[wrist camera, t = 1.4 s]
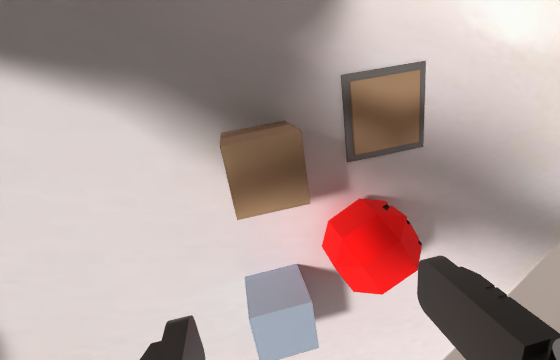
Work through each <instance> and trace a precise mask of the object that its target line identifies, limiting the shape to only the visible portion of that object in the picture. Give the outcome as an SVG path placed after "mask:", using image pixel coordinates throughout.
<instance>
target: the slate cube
mask: <svg viewBox="0 0 560 360" xmlns="http://www.w3.org/2000/svg"><path fill="white" fill-rule="evenodd" d="M245 284H246V294H247V304H248V314H249V321H250V325H251V329H252V333H253V337H254V341H255V344H256V348H257V352H258V356H259V360H279V359H282V358H286V357H289V356H293V355H296V354H299V353H303V352H306V351H310V350H313V349H316V348H319V345H318V338H317V331H316V324H315V317H314V310H313V303H312V300H311V297H310V295H309V292H308V290H307V287H306V285H305V282H304V280H303V277H302V275H301V273H300V270H299V268H298V265H297V264H294V265H290V266H286V267H283V268H279V269H275V270H271V271H267V272H263V273H259V274H255V275H251V276H247V277H245Z"/></svg>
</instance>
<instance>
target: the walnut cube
mask: <svg viewBox="0 0 560 360" xmlns="http://www.w3.org/2000/svg"><path fill="white" fill-rule="evenodd" d="M220 149H221V153H222V157H223V162H224V166H225V170H226V174H227V179H228V183H229V187H230V191H231V196H232V200H233V204H234V208H235V213H236V217H237V220H240V219H244V218H249V217H253V216H258V215H262V214H266V213H271V212H275V211H280V210H284V209H289V208H293V207H298V206H302V205H306V204H310V198H309V190H308V182H307V174H306V166H305V159H304V151H303V143H302V135H301V131H300V130H299V129H297V128H295V127H294V126H292V125H291V124H289V123H287V122H286V121H283V122H277V123H272V124H267V125H261V126H256V127H250V128H245V129H240V130H234V131H229V132H223V133H221V140H220Z"/></svg>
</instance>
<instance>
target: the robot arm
mask: <svg viewBox="0 0 560 360" xmlns="http://www.w3.org/2000/svg"><path fill="white" fill-rule="evenodd" d="M417 295H418V300H419V303H420V305H421V307H422V309H423V311H424V312H425V313H426V314H427V316H428V317H429V318H430V319H431V320H432V321H433V322H434V324H435V325H436V326H437V327H438V328H439V329H440V330H441V332H442V333H443V334H444V335H445V336H446V337H447V338H448V340H449V341H450V342H451V343H452V344H453V345H454V346H455V347H456V349H457V350H458V351H459V352H460V353H461V354H462V355H463V357H464V358H465V359H466V360H560V334H559V333H558V332H557V331H555V330H554V329H553V328H551V327H550V326H549V325H547V324H546V323H545V322H543V321H542V320H540V319H539V318H538V317H536V316H535V315H534V314H532V313H531V312H530V311H528V310H527V309H526V308H524V307H523V306H521V305H520V304H519V303H517V302H516V301H515V300H513V299H512V298H511V297H507V294H505V293H504V292H503V291H501V290H500V289H499V288H495V287H494V285H493V284H492V283H490V282H489V281H488V280H486V279H485V278H484V277H482V276H481V275H480V274H477V273H475V272H473V271H471V270H468V269H466V268H464V267H458V266H456V265H455V264H454V263H452V262H451V261H450V260H449V259H447V258H446V257H444V256H437V257H432V258H428V259H424V260H421V261H420V262H419V265H418V290H417ZM140 360H205V353H204V349H203V345H202V342H201V339H200V336H199V333H198V330H197V326H196V323H195V320H194V318H193V316H192V315H191V316H187V317H182V318H178V319H174V320H170V321H168V322H167V323H166V326H165V330H164V334H163V337H162V341H159V342H155V343H151V344H150V346H149V347H148V349H147V350H146V352H145V353H144V354H143V356H142V357H141V359H140Z"/></svg>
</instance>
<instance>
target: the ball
mask: <svg viewBox="0 0 560 360" xmlns="http://www.w3.org/2000/svg"><path fill="white" fill-rule="evenodd" d="M387 204H388V203H387V202H386V201H379V200H369V199H358V200H357V201H355V202H354V203H353V204H351V205H350V206H348V207H347V208H346V209H344V210H343V211H341V212H340V213H339V214H337V215H336V216H334V217H333V218H332V219H330V220H329V221H328V224H327V228H326V232H325V236H324V240H323V244H322V247H323V249H324V251H325V252H326V254H327V256H328V257H329V259H330V261H331V262H332V264H333V266H334V267H335V268H336V270H337V271H338V272H339V274H340V275H341V276H342V277H343V279H344V280H345V281H346V283H347V284H348V285H349V286H350V288H351V289H352V290H353V292H362V293H373V294H384V293H385V292H387V291H388V290H390V289H391V288H393V287H394V286H395V285H397V284H398V283H400V282H401V281H403V280H404V279H405V278H407V277H408V276H410V275H411V274H413V273H414V272H416V271H417V270H418V265H419V259H420V253H421V246H422V243H421V242H420V241H419V240H418V239H419V238H418V236H417V235H416V233H415V231H414V229H413V227H412V226H411V224H410V222H409V221H408V220H407V217H406V216H405V215H404V214H402V213H401V212H400V211H398V210H397V209H396V208H394V207H393V206H391V207H390V206H388V205H387Z"/></svg>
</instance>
